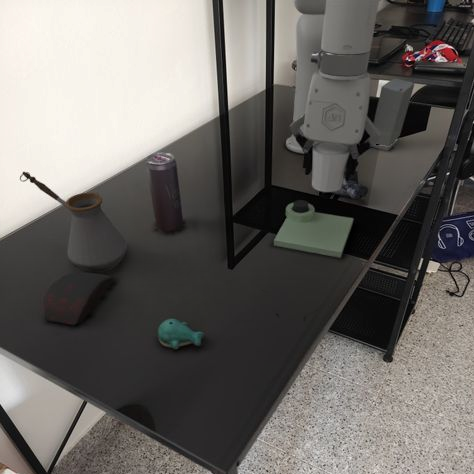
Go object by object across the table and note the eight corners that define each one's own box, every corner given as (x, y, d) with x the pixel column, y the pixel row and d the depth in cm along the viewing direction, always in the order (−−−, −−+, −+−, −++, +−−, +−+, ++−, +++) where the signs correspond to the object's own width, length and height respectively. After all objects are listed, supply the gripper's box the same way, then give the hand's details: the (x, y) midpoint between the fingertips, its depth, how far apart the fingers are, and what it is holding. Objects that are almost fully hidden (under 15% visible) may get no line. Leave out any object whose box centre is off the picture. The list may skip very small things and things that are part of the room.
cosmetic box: (378, 137, 130) (391, 77, 118) (401, 142, 127) (416, 81, 115) (366, 146, 125) (378, 84, 114) (390, 152, 122) (405, 89, 111)
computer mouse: (41, 320, 74) (32, 302, 71) (80, 274, 83) (74, 256, 81) (82, 327, 73) (76, 309, 70) (118, 280, 82) (113, 262, 79)
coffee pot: (141, 255, 88) (126, 183, 77) (102, 284, 81) (79, 211, 70) (67, 228, 96) (44, 159, 85) (26, 253, 89) (-5, 182, 78)
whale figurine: (167, 325, 73) (164, 308, 70) (208, 332, 72) (206, 315, 69) (153, 349, 69) (150, 332, 66) (197, 357, 68) (195, 340, 65)
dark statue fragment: (358, 209, 100) (363, 182, 95) (313, 190, 106) (317, 164, 102) (374, 200, 103) (380, 173, 98) (330, 182, 109) (334, 156, 105)
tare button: (295, 205, 96) (295, 198, 95) (309, 207, 95) (309, 201, 94) (291, 212, 94) (291, 205, 93) (305, 214, 93) (306, 208, 92)
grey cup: (344, 195, 79) (350, 156, 74) (306, 192, 80) (310, 153, 75) (345, 178, 84) (351, 141, 79) (310, 176, 85) (314, 139, 80)
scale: (289, 212, 99) (290, 200, 97) (353, 222, 95) (355, 210, 93) (271, 245, 90) (271, 232, 87) (340, 258, 86) (343, 245, 84)
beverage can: (172, 216, 98) (163, 149, 88) (188, 226, 95) (181, 157, 85) (151, 226, 96) (139, 158, 85) (167, 236, 93) (157, 166, 82)
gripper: (283, 65, 67) (277, 176, 80) (397, 73, 63) (372, 190, 76) (296, 54, 72) (288, 161, 85) (402, 61, 68) (377, 173, 81)
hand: (328, 174), depth 80 cm, fingers closed on grey cup, 6 cm apart
